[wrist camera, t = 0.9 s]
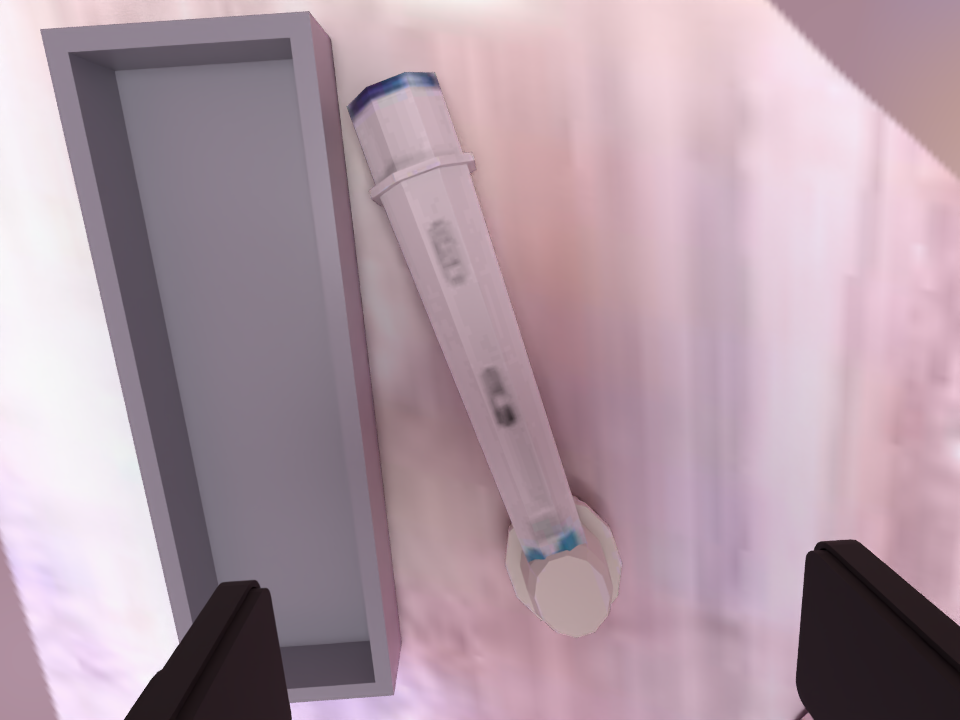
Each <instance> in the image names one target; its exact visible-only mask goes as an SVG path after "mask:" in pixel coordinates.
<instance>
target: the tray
mask: <svg viewBox="0 0 960 720" xmlns="http://www.w3.org/2000/svg"><path fill="white" fill-rule="evenodd" d="M40 31H41V35H42V39H43V44H44V48H45V53H46V57H47V61H48V66H49V70H50V75H51V79H52V83H53V88H54V92H55V97H56V101H57V106H58V110H59V114H60V119H61V123H62V128H63V132H64V136H65V141H66V145H67V150H68V154H69V158H70V163H71V167H72V172H73V176H74V181H75V185H76V189H77V194H78V198H79V203H80V207H81V211H82V216H83V220H84V225H85V229H86V233H87V238H88V242H89V247H90V251H91V256H92V260H93V264H94V269H95V273H96V278H97V282H98V286H99V291H100V295H101V300H102V304H103V308H104V313H105V317H106V322H107V326H108V331H109V335H110V339H111V344H112V348H113V353H114V357H115V361H116V366H117V370H118V375H119V379H120V383H121V388H122V392H123V397H124V401H125V405H126V410H127V414H128V419H129V423H130V428H131V432H132V436H133V441H134V445H135V450H136V454H137V458H138V463H139V467H140V472H141V476H142V480H143V485H144V489H145V494H146V498H147V503H148V507H149V511H150V516H151V520H152V525H153V529H154V533H155V538H156V542H157V547H158V551H159V555H160V560H161V564H162V569H163V573H164V578H165V582H166V586H167V591H168V595H169V600H170V604H171V608H172V613H173V617H174V622H175V626H176V630H177V635H178V639H179V643H180V642H181V640H182V639H183V637H184V636H185V634H186V633H187V631H188V630H189V629H190V627H191V626H192V624H193V623H194V621H195V620H196V618H197V617H198V615H199V614H200V612H201V611H202V609H203V608H204V606H205V605H206V603H207V602H208V600H209V599H210V597H211V596H212V594H213V593H214V591H215V590H216V588H217V587H218V586H219V584H220V583H222V582H229V581H244V580H256V581H258V583H259V584H260V588H268V589H269V591H270V594H271V598H272V604H273V610H274V616H275V622H276V628H277V633H278V639H279V645H280V651H281V657H282V663H283V668H284V674H285V680H286V686H287V692H288V698H289V703H295V702H308V701H322V700H336V699H349V698H363V697H376V696H390V695H394V691H395V684H396V678H397V671H398V664H399V658H400V651H401V644H402V643H401V634H400V626H399V617H398V608H397V600H396V591H395V583H394V574H393V566H392V557H391V549H390V540H389V532H388V523H387V515H386V506H385V497H384V489H383V480H382V472H381V463H380V455H379V446H378V438H377V429H376V421H375V412H374V404H373V395H372V386H371V378H370V369H369V361H368V352H367V344H366V335H365V327H364V318H363V310H362V301H361V292H360V284H359V275H358V267H357V258H356V250H355V241H354V233H353V224H352V216H351V207H350V199H349V190H348V181H347V173H346V164H345V156H344V147H343V139H342V130H341V122H340V113H339V105H338V96H337V88H336V79H335V70H334V62H333V53H332V45H331V39H330V37H329V36H328V35H327V34H326V32H325V31H324V30H323V28H322V27H321V26H320V25H319V23H318V22H317V21H316V20H315V18H314V17H313V16H312V14H311V13H310V12H309V11H307V12H292V13H277V14H262V15H247V16H232V17H217V18H202V19H187V20H172V21H157V22H142V23H127V24H112V25H97V26H82V27H67V28H52V29H40Z"/></svg>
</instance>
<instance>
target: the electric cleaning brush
mask: <svg viewBox="0 0 960 720" xmlns="http://www.w3.org/2000/svg"><path fill="white" fill-rule="evenodd" d="M347 109H348V111H349V114H350V117H351V120H352V122H353V125H354V128H355V130H356V133H357V136H358V139H359V141H360V144H361V147H362V150H363V152H364V155H365V158H366V160H367V163H368V166H369V169H370V171H371V174H372V177H373V180H374V182H375V185H376V186H374V187H373V188H372V189H370V190H369V194H370V197H371V199H372V200H373V201H375V202H376V203H377V204H379V205H380V206H381V205H383V206H384V208H385V211H386V213H387V216H388V218H389V221H390V223H391V226H392V228H393V231H394V233H395V235H396V238H397V240H398V243H399V245H400V248H401V250H402V253H403V255H404V258H405V260H406V263H407V265H408V268H409V270H410V273H411V275H412V277H413V280H414V282H415V285H416V287H417V290H418V292H419V295H420V297H421V300H422V302H423V305H424V307H425V310H426V312H427V315H428V317H429V320H430V322H431V324H432V327H433V329H434V332H435V334H436V337H437V339H438V342H439V344H440V347H441V349H442V352H443V354H444V357H445V359H446V362H447V364H448V366H449V369H450V371H451V374H452V376H453V379H454V381H455V384H456V386H457V389H458V391H459V394H460V396H461V399H462V401H463V404H464V406H465V408H466V411H467V413H468V416H469V418H470V421H471V423H472V426H473V428H474V431H475V433H476V436H477V438H478V441H479V443H480V446H481V448H482V450H483V453H484V455H485V458H486V460H487V463H488V465H489V468H490V470H491V473H492V475H493V478H494V480H495V483H496V485H497V488H498V490H499V493H500V495H501V497H502V500H503V502H504V505H505V507H506V510H507V512H508V515H509V517H510V520H511V522H512V524H511V525H510V526H509V528H508V537H507V546H506V554H505V567H506V569H507V572H508V575H509V577H510V580H511V583H512V586H513V588H514V591H515V594H516V596H517V598H518V599H519V600H520V601H521V602H522V603H523V604H524V605H525V606H526V607H527V608H528V609H529V610H530V611H532V612H533V613H534V614H535V615H536V616H537V617H538V618H539V619H540V620H541V621H544V622H545V623H546V624H547V625H548V626H549V627H550V628H551V629H552V630H554V631H555V632H557V633H559V634H563V635H567V636H571V637H574V638H579V637H582V636H585V635H588V634H591V633H594V632H595V631H596V630H597V629H598V628H599V626H600V625H601V624H602V623H603V621H604V620H605V619H606V618H607V616H608V615H609V613H610V608H611V604H612V602H613V601H614V600H615V599H616V597H617V596H618V591H619V584H620V577H621V570H622V561H621V558H620V555H619V552H618V549H617V546H616V543H615V540H614V538H613V535H612V532H611V529H610V527H609V525H608V524H607V523H606V522H605V521H604V520H603V519H602V518H601V517H599V516H598V515H597V514H596V513H595V512H594V511H593V510H592V509H591V508H590V507H589V506H588V505H587V504H586V503H585V502H583V501H580V500H579V499H578V498H577V497H576V496H573V495H572V494H571V491H570V487H569V484H568V481H567V478H566V475H565V472H564V469H563V465H562V462H561V459H560V456H559V453H558V450H557V446H556V443H555V440H554V437H553V434H552V431H551V428H550V424H549V421H548V418H547V415H546V412H545V409H544V406H543V402H542V399H541V396H540V393H539V390H538V387H537V383H536V380H535V377H534V374H533V371H532V368H531V365H530V361H529V358H528V355H527V352H526V349H525V346H524V342H523V339H522V336H521V333H520V330H519V327H518V324H517V320H516V317H515V314H514V311H513V308H512V305H511V301H510V298H509V295H508V292H507V289H506V286H505V283H504V279H503V276H502V273H501V270H500V267H499V264H498V260H497V257H496V254H495V251H494V248H493V245H492V242H491V238H490V235H489V232H488V229H487V226H486V223H485V220H484V216H483V213H482V210H481V207H480V204H479V201H478V197H477V194H476V191H475V188H474V185H473V182H472V179H471V175H470V173H472V172H473V171H475V170H476V166H475V160H474V157H473V154H472V152H468V153H463V151H462V149H461V146H460V143H459V140H458V137H457V134H456V131H455V129H454V126H453V123H452V120H451V117H450V114H449V111H448V109H447V106H446V103H445V100H444V97H443V94H442V91H441V88H440V86H439V83H438V80H437V77H436V74H435V73H430V72H404V73H402V74H399V75H397V76H394V77H391V78H389V79H386V80H384V81H381V82H378V83H376V84H373V85H371V86H368V87H366V88H365V89H364V90H363V91H362V92H361V93H360V94H359V95H358V96H357V97H356V98H355V99H354V100H353V101H352V102H351V103H350V104H349V105H348V106H347Z"/></svg>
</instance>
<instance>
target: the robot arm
mask: <svg viewBox="0 0 960 720" xmlns="http://www.w3.org/2000/svg"><path fill="white" fill-rule="evenodd" d="M796 686H797V690H798V694H799V697H800V699H801V701H802V703H803V705H804V706H805V708H806V709H807V711H808V713H807V714H806V715H805V716H804V717H803V718H802V719H801V720H960V626H959V625H957V624H956V623H955V622H954V621H953V620H951V619H950V618H949V617H948V616H947V615H945V614H944V613H943V612H942V611H941V610H940V609H938V608H937V607H936V606H935V605H934V604H932V603H931V602H930V601H929V600H928V599H926V598H925V597H924V596H923V595H922V594H920V593H919V592H918V591H917V590H916V589H915V588H913V587H912V586H911V585H910V584H909V583H907V582H906V581H905V580H904V579H903V578H901V577H900V576H899V575H898V574H897V573H896V572H894V571H893V570H892V569H891V568H890V567H888V566H887V565H886V564H885V563H884V562H882V561H881V560H880V559H879V558H878V557H876V556H875V555H874V554H873V553H872V552H871V551H869V550H868V549H867V548H866V547H865V546H863V545H862V544H861V543H860V542H858V541H856V540H836V541H821V542H819V543H817V544H816V546H815V548H814V551H810V552H808V554H807V555H806V561H805V573H804V585H803V597H802V610H801V622H800V634H799V647H798V659H797V671H796ZM124 720H292V717H291V709H290V703H289V698H288V692H287V686H286V680H285V674H284V668H283V663H282V657H281V651H280V645H279V639H278V633H277V628H276V622H275V616H274V610H273V604H272V598H271V594H270V591H269V589H268V588H260V584H259V583H258V581H256V580H244V581H229V582H222V583H220V584H219V586H218V587H217V588H216V590H215V591H214V593H213V594H212V596H211V597H210V599H209V600H208V602H207V603H206V605H205V606H204V608H203V609H202V611H201V612H200V614H199V615H198V617H197V618H196V620H195V621H194V623H193V624H192V626H191V627H190V629H189V630H188V631H187V633H186V634H185V636H184V637H183V639H182V640H181V642H180V643H179V645H178V646H177V648H176V649H175V651H174V652H173V654H172V655H171V657H170V658H169V660H168V661H167V663H166V664H165V666H164V667H163V669H162V670H160V671H159V672H157V673H156V674H155V676H154V677H153V678H152V679H151V680H150V682H149V683H148V685H147V686H146V688H145V689H144V691H143V692H142V694H141V695H140V697H139V698H138V699H137V701H136V702H135V704H134V705H133V707H132V708H131V710H130V711H129V713H128V714H127V716H126V717H125V719H124Z"/></svg>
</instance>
